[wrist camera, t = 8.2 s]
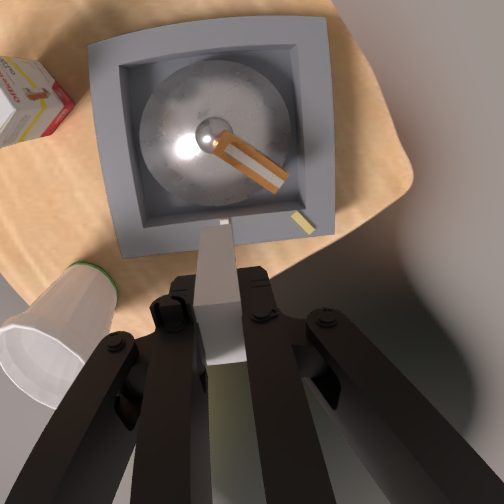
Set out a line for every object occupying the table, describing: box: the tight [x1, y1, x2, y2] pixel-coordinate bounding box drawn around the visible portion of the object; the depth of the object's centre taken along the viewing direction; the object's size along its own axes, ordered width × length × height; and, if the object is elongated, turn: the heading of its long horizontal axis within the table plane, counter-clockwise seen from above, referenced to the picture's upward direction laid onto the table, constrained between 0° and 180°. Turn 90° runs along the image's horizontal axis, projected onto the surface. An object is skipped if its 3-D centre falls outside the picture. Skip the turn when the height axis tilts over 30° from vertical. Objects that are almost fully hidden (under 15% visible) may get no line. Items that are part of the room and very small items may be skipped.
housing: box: [87, 15, 335, 259], centre depth 28 cm, size 22×22×5 cm
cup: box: [0, 263, 118, 409], centre depth 30 cm, size 12×12×15 cm
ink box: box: [0, 56, 75, 148], centre depth 21 cm, size 9×5×12 cm, turn 37°
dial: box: [139, 60, 291, 206], centre depth 25 cm, size 14×14×7 cm
